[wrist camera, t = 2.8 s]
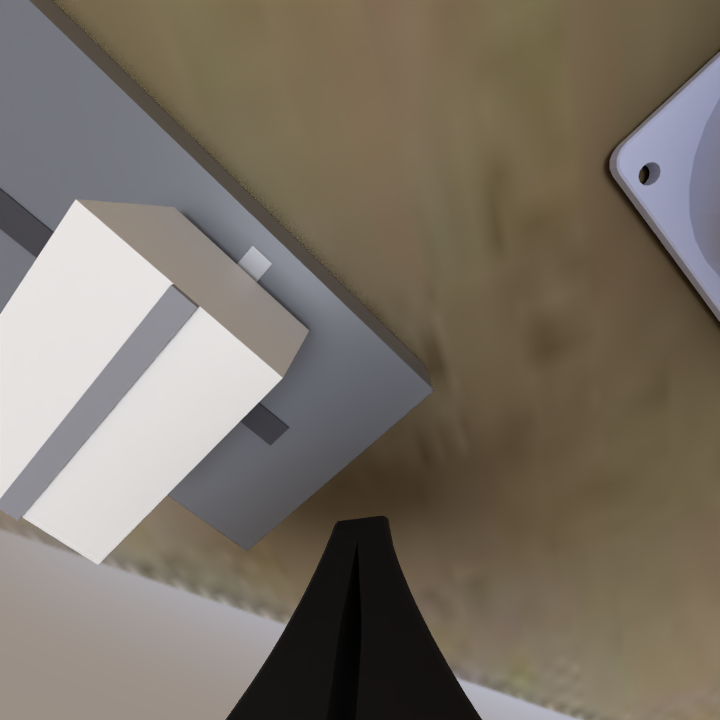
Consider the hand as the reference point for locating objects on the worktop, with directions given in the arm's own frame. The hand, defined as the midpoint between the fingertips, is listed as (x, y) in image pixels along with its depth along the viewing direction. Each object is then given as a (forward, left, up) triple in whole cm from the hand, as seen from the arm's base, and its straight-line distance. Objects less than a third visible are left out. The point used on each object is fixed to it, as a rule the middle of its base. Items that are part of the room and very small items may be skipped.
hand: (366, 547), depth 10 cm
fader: (+7, 0, -1) cm, 7 cm away
